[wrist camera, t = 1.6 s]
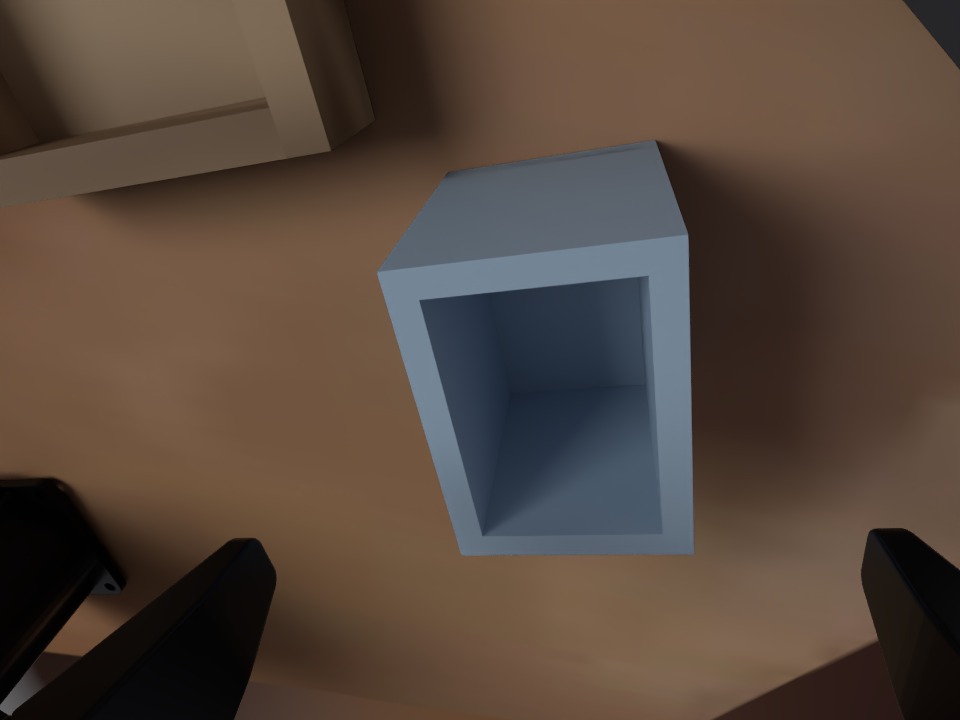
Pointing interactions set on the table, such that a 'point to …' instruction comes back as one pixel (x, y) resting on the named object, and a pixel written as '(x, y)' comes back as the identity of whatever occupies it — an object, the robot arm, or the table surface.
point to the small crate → (553, 353)
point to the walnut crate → (168, 89)
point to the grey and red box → (940, 23)
